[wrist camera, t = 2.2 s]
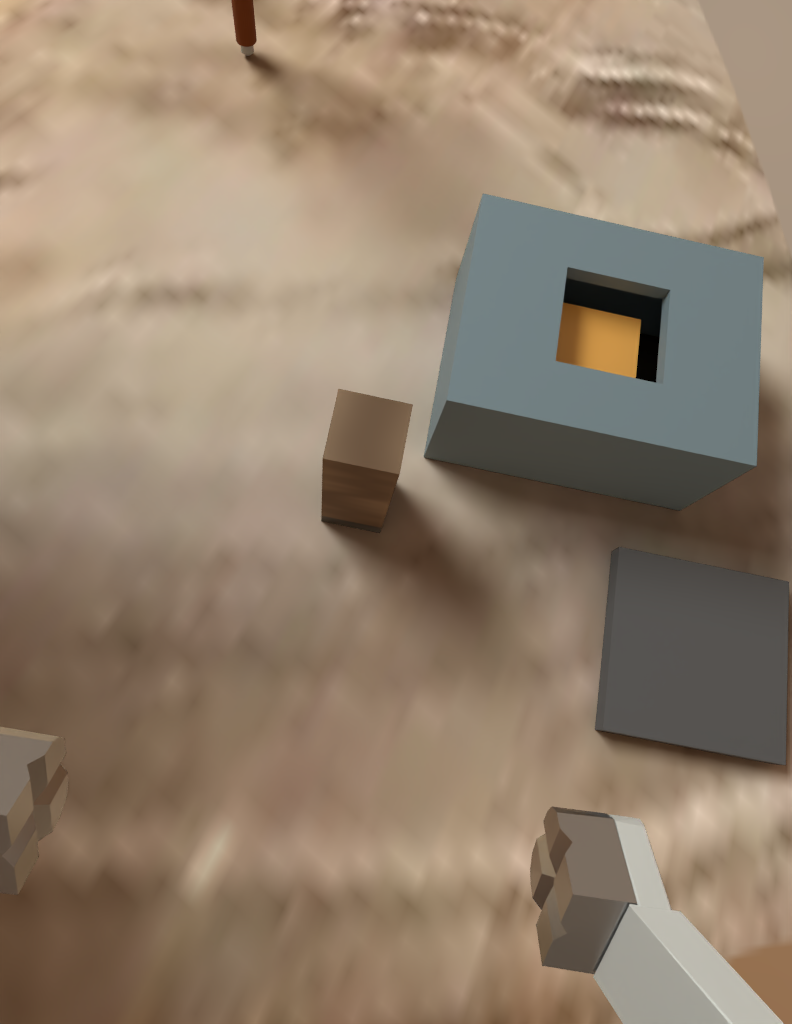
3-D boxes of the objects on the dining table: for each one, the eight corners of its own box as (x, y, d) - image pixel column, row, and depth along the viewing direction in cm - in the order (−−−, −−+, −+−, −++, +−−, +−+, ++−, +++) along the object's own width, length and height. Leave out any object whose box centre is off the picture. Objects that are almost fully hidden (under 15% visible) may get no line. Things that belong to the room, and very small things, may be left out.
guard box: (423, 457, 38) (446, 399, 31) (455, 280, 41) (482, 193, 34) (679, 510, 38) (756, 466, 31) (691, 332, 41) (763, 257, 35)
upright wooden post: (321, 521, 36) (322, 458, 27) (333, 466, 37) (338, 388, 28) (379, 532, 36) (399, 474, 28) (390, 478, 37) (412, 404, 28)
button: (537, 397, 36) (553, 373, 34) (546, 329, 38) (562, 302, 35) (613, 413, 37) (634, 391, 34) (619, 345, 38) (640, 319, 35)
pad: (594, 729, 34) (602, 729, 34) (611, 551, 37) (619, 546, 36) (773, 763, 35) (785, 765, 34) (777, 585, 38) (789, 581, 37)
